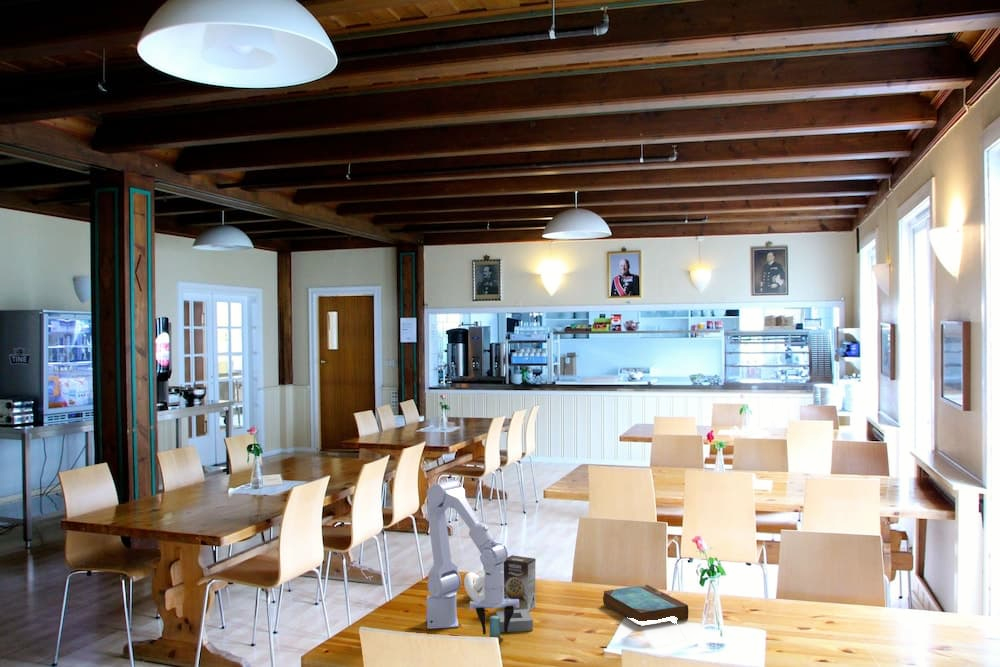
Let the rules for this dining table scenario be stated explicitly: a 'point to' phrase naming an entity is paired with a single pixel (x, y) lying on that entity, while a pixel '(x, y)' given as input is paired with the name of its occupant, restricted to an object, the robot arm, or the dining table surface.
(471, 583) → the white knot sculpture
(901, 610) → the dining table surface
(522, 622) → the socket board
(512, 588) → the coffee box
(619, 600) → the book
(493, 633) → the peg
